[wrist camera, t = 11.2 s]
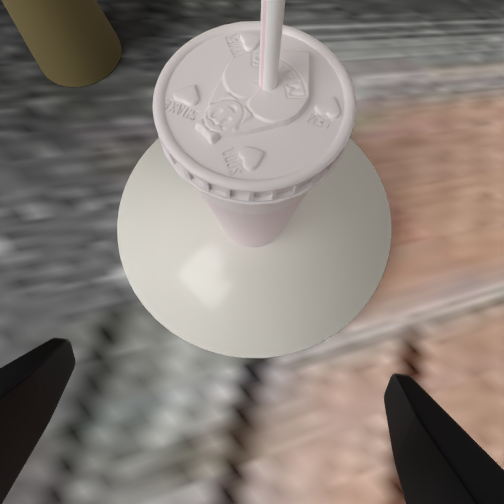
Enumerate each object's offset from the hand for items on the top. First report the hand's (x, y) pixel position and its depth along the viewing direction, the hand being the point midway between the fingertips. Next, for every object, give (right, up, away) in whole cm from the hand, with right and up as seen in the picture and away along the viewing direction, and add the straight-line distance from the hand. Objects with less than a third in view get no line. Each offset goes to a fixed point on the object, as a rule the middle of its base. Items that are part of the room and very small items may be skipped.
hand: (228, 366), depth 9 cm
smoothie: (+1, +5, +10) cm, 12 cm away
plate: (+1, +5, +11) cm, 12 cm away
